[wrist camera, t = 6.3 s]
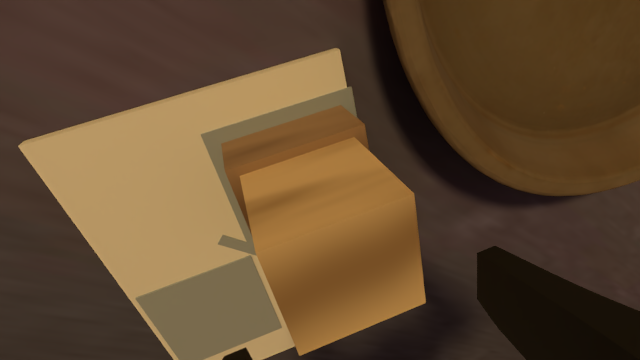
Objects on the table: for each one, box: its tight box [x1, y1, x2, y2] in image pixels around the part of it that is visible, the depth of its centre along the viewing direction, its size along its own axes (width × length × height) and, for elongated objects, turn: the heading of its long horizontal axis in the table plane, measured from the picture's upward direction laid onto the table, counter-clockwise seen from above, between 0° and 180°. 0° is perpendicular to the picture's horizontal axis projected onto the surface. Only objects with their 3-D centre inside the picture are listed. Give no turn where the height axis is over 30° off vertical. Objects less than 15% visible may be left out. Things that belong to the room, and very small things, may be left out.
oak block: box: [240, 137, 426, 356], centre depth 14 cm, size 5×5×5 cm
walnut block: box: [221, 105, 369, 235], centre depth 17 cm, size 6×6×3 cm
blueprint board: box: [18, 48, 357, 360], centre depth 20 cm, size 18×14×1 cm
